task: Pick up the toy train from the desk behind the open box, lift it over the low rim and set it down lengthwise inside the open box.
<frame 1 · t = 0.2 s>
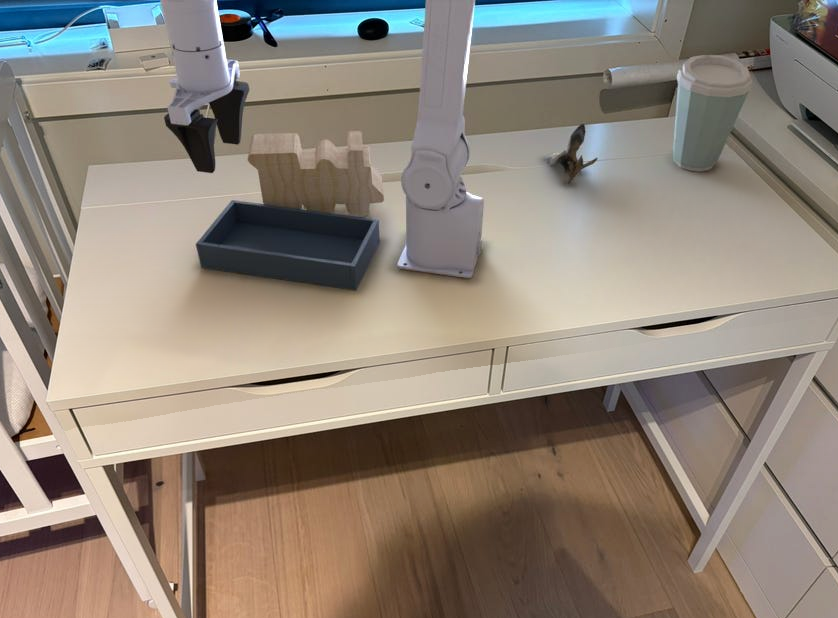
hand: (219, 156, 90), 10 cm above the table, tool pointing down, fingers open, 7 cm apart
disposable coffee cup: (690, 163, 114), on the table
open box: (293, 254, 92), on the table
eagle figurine: (566, 172, 111), on the table
toy train: (322, 210, 101), on the table
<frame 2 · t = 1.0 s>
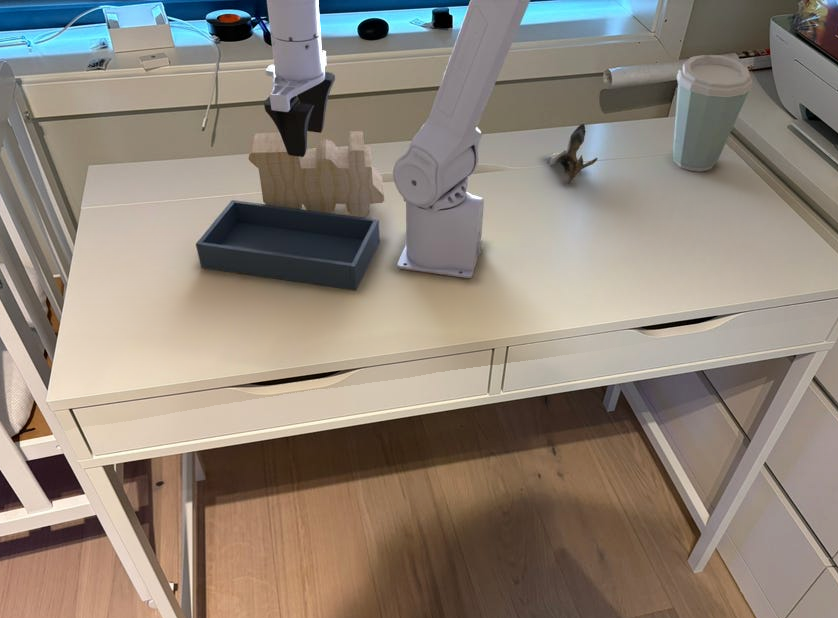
hand: (305, 142, 93), 10 cm above the table, tool pointing down, fingers open, 6 cm apart
toy train: (322, 210, 100), on the table, touching gripper
everything else where it was.
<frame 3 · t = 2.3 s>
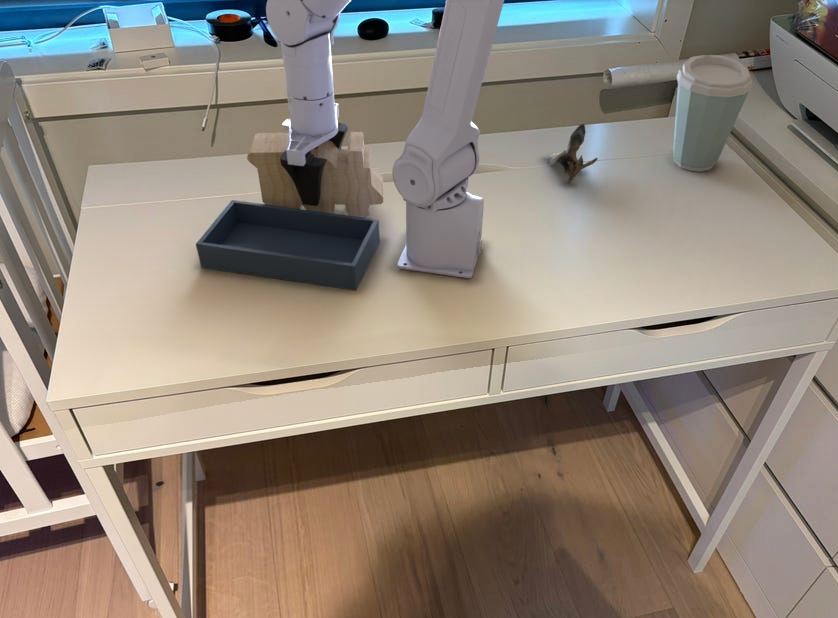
hand: (319, 190, 98), 3 cm above the table, tool pointing down, fingers closed on toy train, 7 cm apart
toy train: (322, 210, 100), on the table, touching gripper
everything else where it was.
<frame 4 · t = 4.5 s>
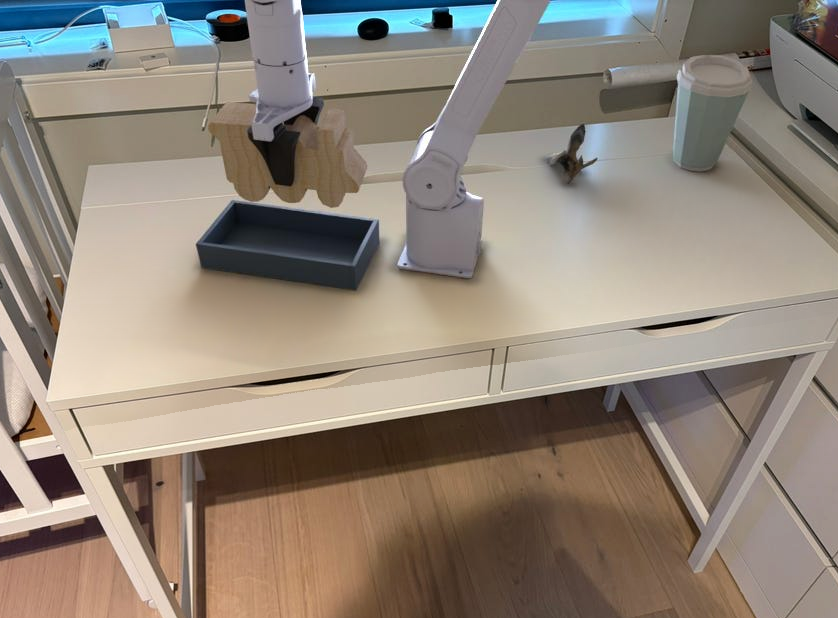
hand: (293, 171, 88), 10 cm above the table, tool pointing down, fingers closed on toy train, 6 cm apart
toy train: (296, 194, 90), point 7 cm above the table, touching gripper
everything else where it was.
when the fingers open (3 cm above the table, at t = 6.9 s): toy train stays where it is, resting on open box.
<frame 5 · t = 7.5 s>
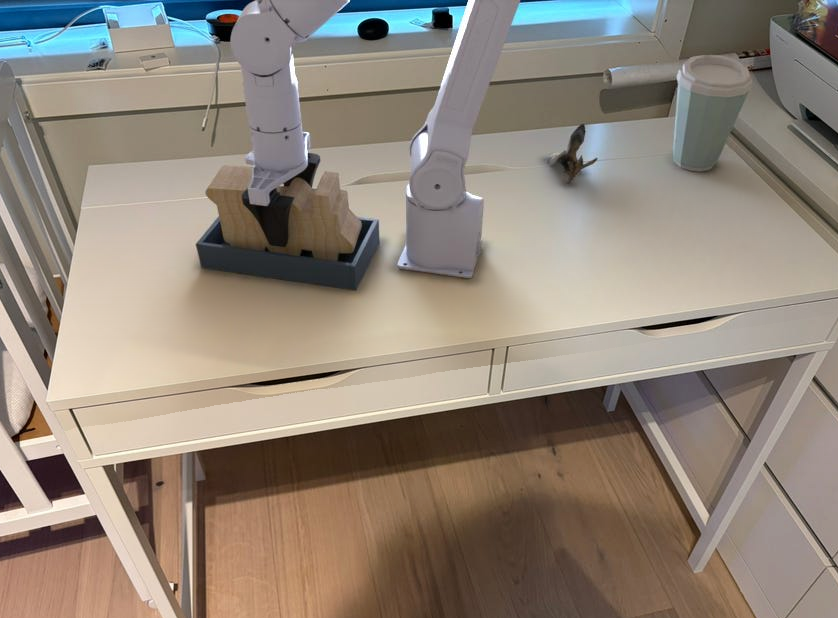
hand: (289, 227, 89), 4 cm above the table, tool pointing down, fingers open, 7 cm apart
toy train: (292, 252, 92), resting on open box
everything else where it was.
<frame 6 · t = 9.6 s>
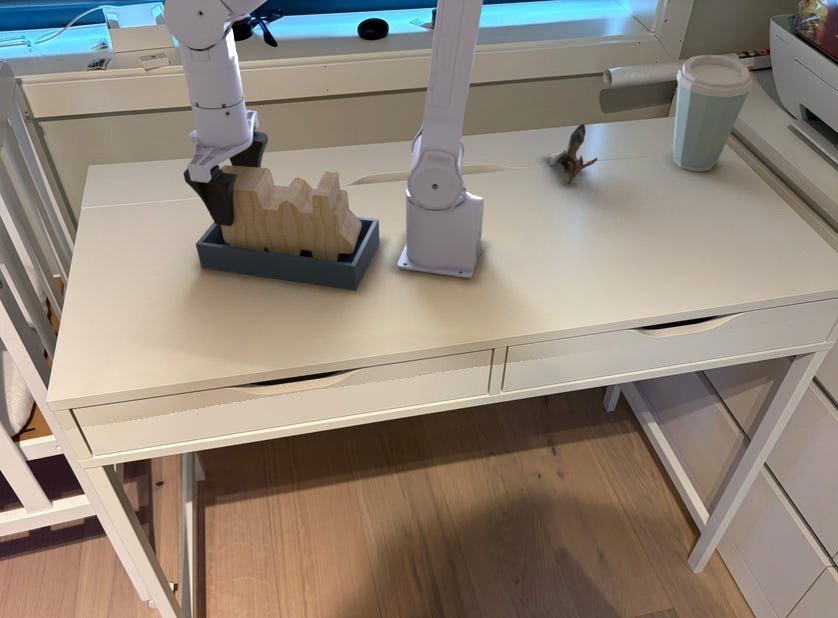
hand: (237, 207, 89), 6 cm above the table, tool pointing down, fingers open, 7 cm apart
nothing on the table moved.
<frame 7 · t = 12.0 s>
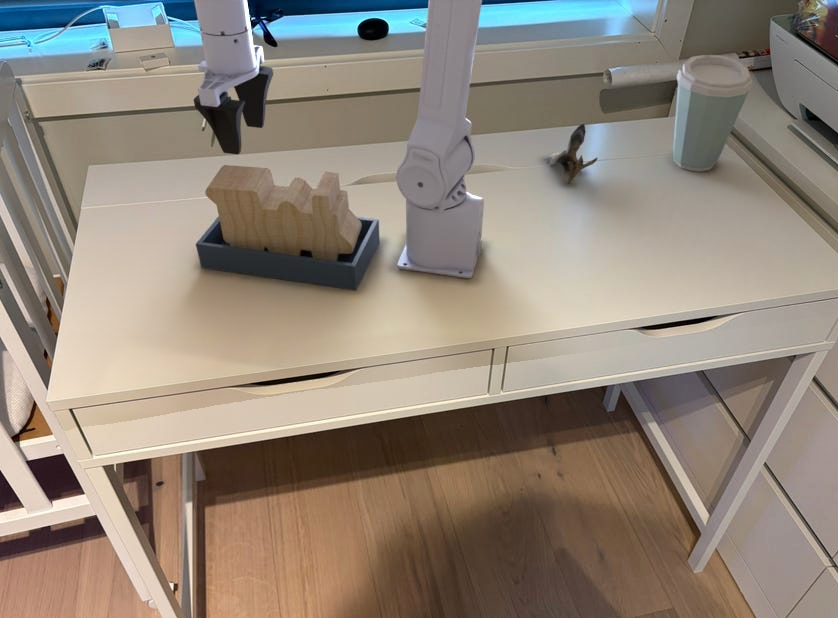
hand: (244, 139, 93), 10 cm above the table, tool pointing down, fingers open, 7 cm apart
nothing on the table moved.
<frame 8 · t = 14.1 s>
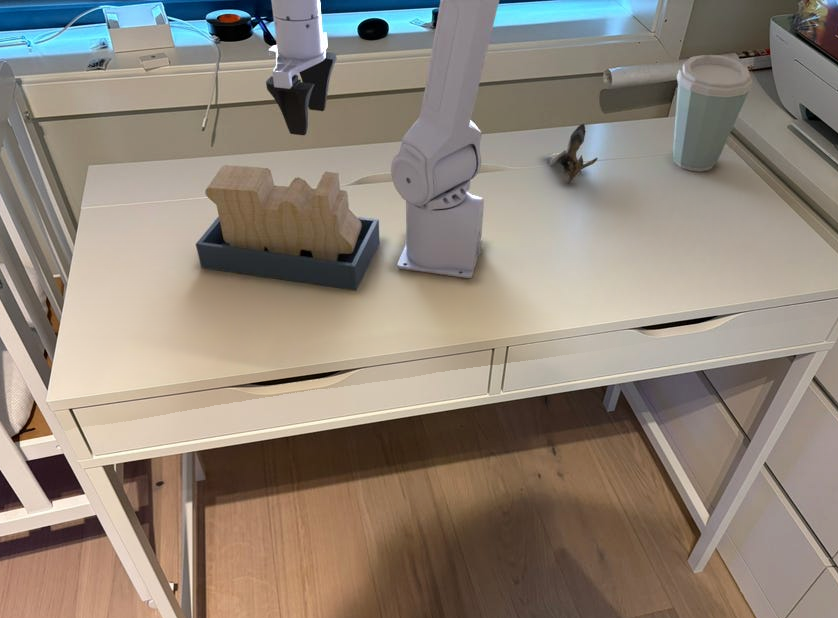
hand: (308, 121, 97), 10 cm above the table, tool pointing down, fingers open, 7 cm apart
nothing on the table moved.
at the end: toy train inside the target area in the open box (0.0 cm from its centre), point 0.3 cm above the open box's base; toy train tilted 0°; the gripper is holding nothing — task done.
